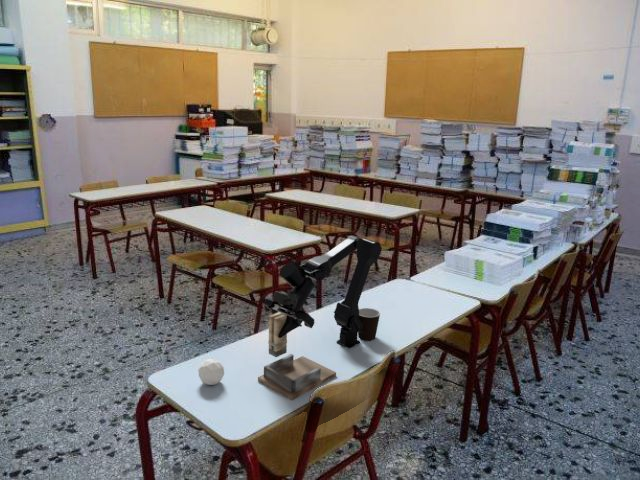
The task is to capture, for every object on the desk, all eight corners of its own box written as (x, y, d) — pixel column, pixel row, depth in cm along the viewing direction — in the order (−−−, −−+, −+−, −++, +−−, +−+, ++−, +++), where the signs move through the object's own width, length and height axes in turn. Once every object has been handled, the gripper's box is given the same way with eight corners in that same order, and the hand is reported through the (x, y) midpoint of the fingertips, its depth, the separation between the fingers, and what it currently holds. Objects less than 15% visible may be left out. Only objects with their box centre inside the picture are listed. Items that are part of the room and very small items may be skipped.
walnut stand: (302, 359, 174) (303, 346, 173) (336, 375, 164) (336, 362, 163) (257, 380, 160) (258, 367, 159) (291, 400, 150) (292, 385, 149)
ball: (210, 394, 156) (200, 383, 150) (200, 375, 161) (190, 364, 155) (231, 379, 158) (222, 368, 152) (221, 361, 163) (211, 349, 157)
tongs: (279, 348, 166) (279, 311, 163) (286, 352, 164) (287, 315, 160) (268, 353, 163) (268, 315, 159) (276, 357, 161) (276, 319, 157)
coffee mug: (377, 343, 188) (378, 318, 185) (353, 340, 189) (355, 315, 187) (379, 330, 199) (381, 306, 196) (357, 327, 200) (359, 304, 198)
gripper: (267, 274, 166) (241, 315, 161) (309, 289, 154) (282, 334, 149) (284, 290, 174) (260, 330, 169) (325, 306, 162) (300, 349, 157)
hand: (274, 335), depth 161 cm, fingers closed on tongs, 3 cm apart
